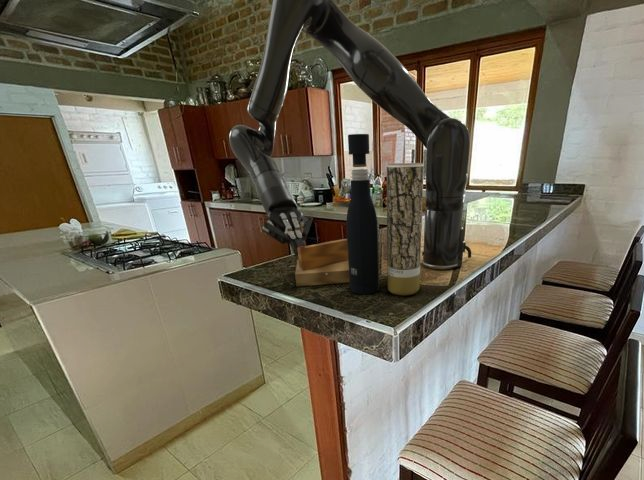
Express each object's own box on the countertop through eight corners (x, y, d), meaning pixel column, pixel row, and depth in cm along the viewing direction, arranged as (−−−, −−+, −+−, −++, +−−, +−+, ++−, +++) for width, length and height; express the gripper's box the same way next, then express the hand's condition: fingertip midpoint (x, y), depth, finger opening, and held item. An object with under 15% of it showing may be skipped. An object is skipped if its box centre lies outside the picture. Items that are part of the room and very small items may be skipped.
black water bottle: (380, 284, 76) (377, 134, 63) (377, 294, 70) (374, 132, 57) (352, 283, 77) (343, 136, 64) (347, 294, 71) (337, 134, 58)
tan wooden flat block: (345, 258, 85) (344, 237, 83) (349, 259, 84) (348, 238, 82) (299, 268, 78) (296, 246, 76) (302, 270, 77) (300, 247, 75)
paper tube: (410, 299, 68) (414, 163, 57) (381, 293, 71) (379, 164, 60) (424, 288, 73) (429, 162, 62) (396, 283, 76) (397, 163, 65)
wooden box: (357, 263, 91) (356, 252, 90) (365, 285, 76) (365, 271, 74) (293, 268, 89) (291, 256, 88) (288, 291, 74) (286, 277, 72)
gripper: (249, 186, 75) (278, 250, 71) (303, 182, 82) (331, 241, 78) (246, 208, 81) (272, 268, 78) (296, 203, 88) (322, 258, 85)
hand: (302, 254), depth 78 cm, fingers closed
